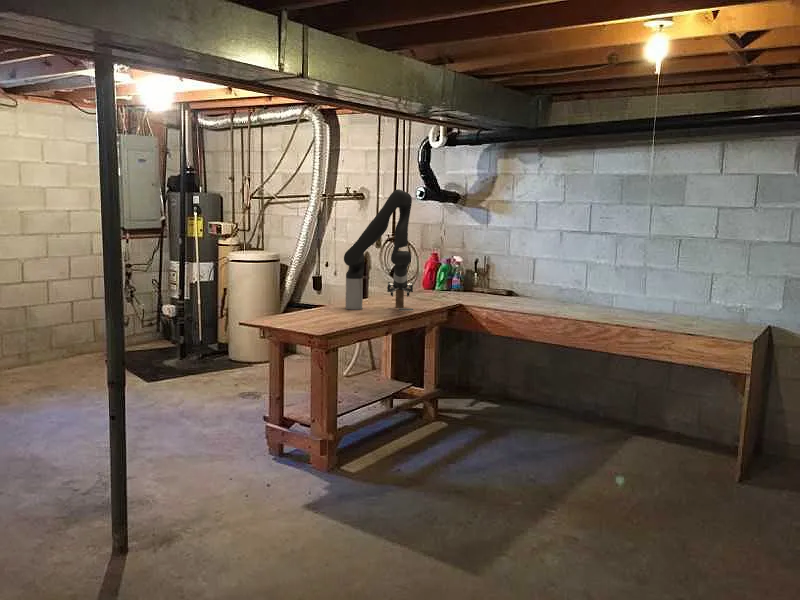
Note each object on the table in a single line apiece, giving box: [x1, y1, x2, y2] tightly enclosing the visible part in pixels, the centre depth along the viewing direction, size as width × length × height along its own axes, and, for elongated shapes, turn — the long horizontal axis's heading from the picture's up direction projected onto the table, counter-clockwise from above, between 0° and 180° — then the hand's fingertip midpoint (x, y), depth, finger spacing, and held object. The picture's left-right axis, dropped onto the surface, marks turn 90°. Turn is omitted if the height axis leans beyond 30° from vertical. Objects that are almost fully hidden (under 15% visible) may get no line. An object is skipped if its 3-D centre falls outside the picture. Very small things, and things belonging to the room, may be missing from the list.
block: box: [394, 290, 405, 309], centre depth 380 cm, size 4×4×11 cm
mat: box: [398, 307, 414, 312], centre depth 373 cm, size 8×8×1 cm
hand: (399, 295), depth 378 cm, fingers open, 8 cm apart
